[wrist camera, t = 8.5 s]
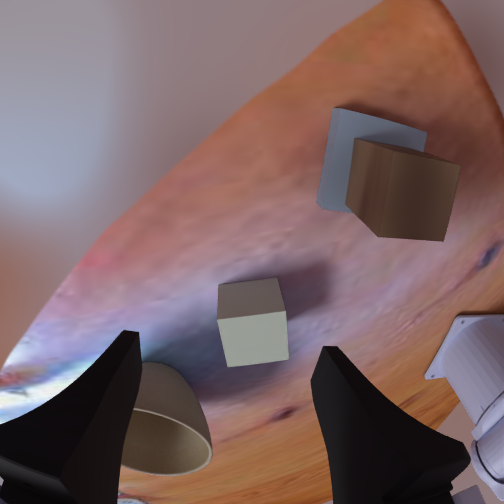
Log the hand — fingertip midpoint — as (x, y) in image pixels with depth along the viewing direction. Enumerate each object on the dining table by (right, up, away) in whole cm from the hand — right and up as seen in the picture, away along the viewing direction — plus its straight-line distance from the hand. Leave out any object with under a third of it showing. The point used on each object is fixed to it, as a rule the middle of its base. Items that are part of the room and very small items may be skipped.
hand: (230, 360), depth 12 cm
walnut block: (+9, +9, +6) cm, 14 cm away
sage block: (+1, 0, +11) cm, 11 cm away
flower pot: (-7, -7, +14) cm, 17 cm away
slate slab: (+8, +10, +8) cm, 15 cm away
